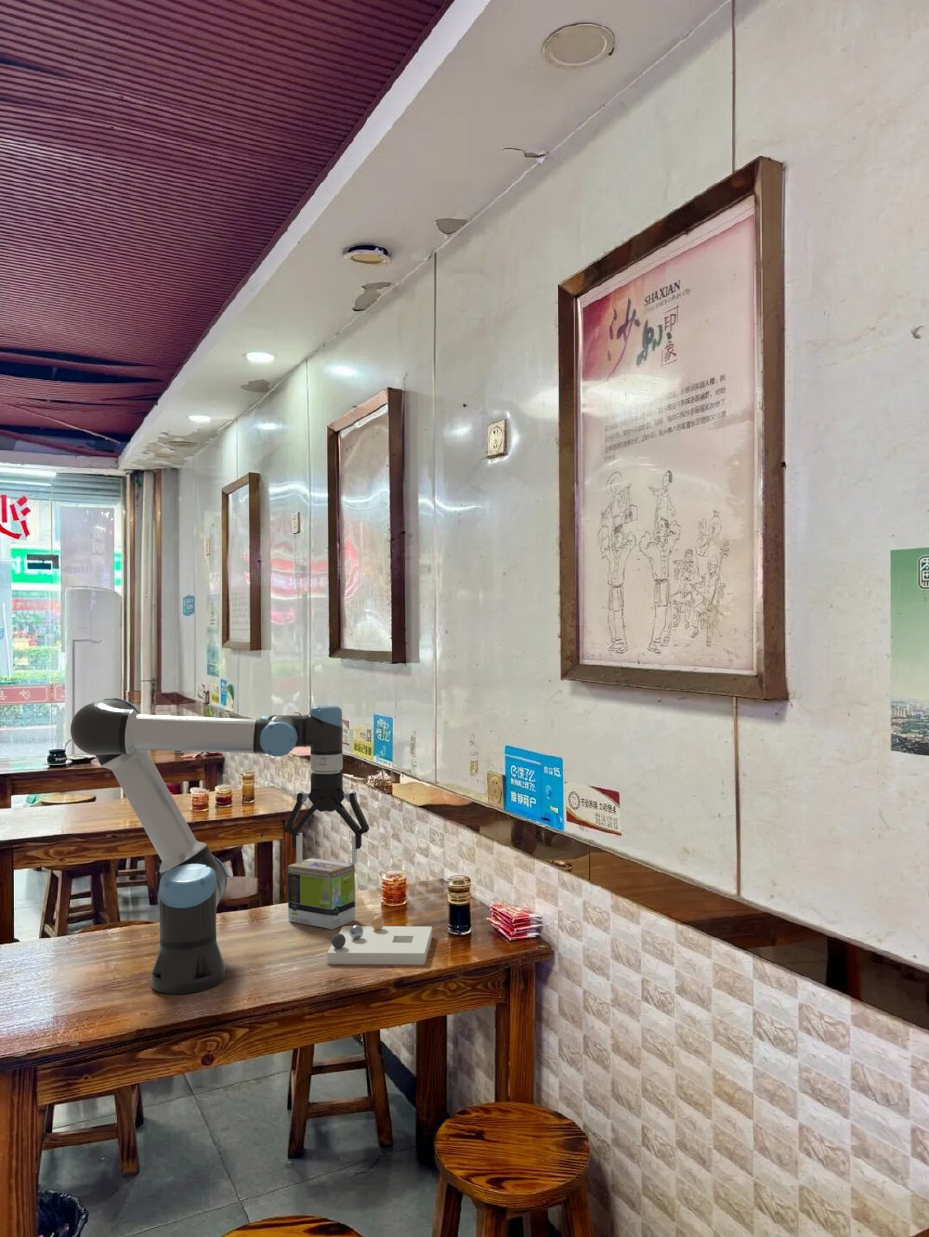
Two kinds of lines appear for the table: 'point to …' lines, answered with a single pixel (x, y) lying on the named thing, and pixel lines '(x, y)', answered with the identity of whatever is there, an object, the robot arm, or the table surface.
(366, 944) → the platform
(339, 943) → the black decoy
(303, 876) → the tea box
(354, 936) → the steel ball
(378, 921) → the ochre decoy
